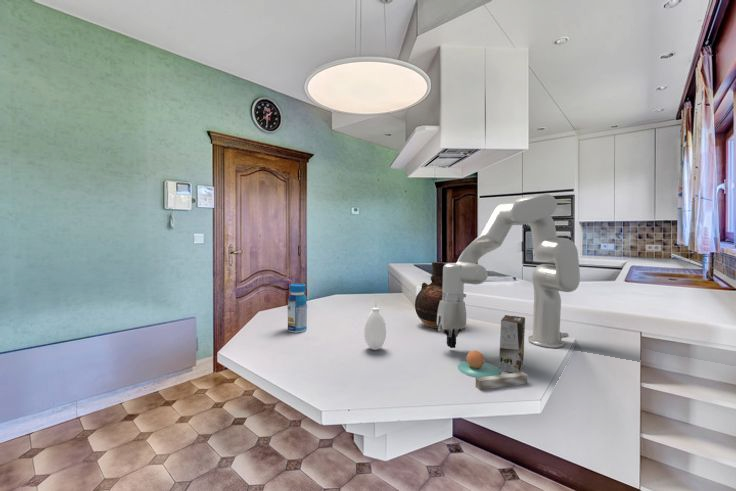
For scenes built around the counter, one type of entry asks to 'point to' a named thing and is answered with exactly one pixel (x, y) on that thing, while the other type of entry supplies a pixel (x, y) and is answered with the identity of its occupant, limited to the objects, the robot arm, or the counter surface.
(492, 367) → the teal disc
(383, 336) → the sauce bottle
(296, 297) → the beverage bottle
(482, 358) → the ball
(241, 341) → the counter surface
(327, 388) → the counter surface
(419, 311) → the ceramic vessel
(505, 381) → the strip
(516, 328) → the coffee box
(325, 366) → the counter surface
